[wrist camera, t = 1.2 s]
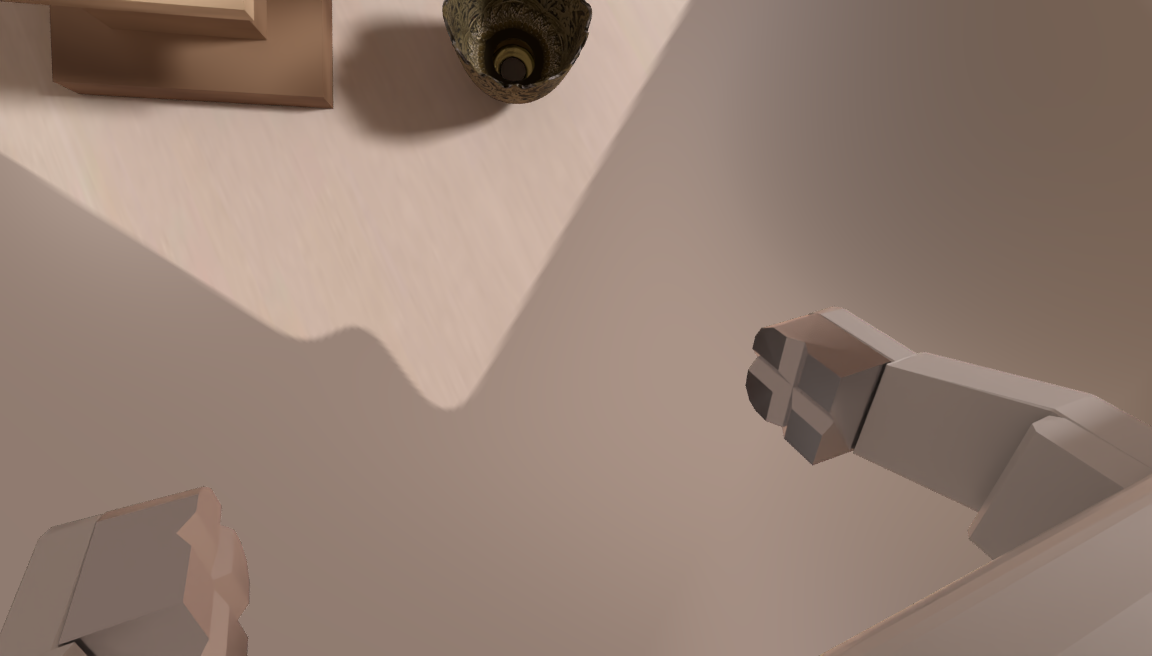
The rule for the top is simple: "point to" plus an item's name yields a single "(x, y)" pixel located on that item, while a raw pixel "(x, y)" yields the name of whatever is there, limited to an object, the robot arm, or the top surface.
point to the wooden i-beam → (195, 49)
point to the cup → (517, 42)
